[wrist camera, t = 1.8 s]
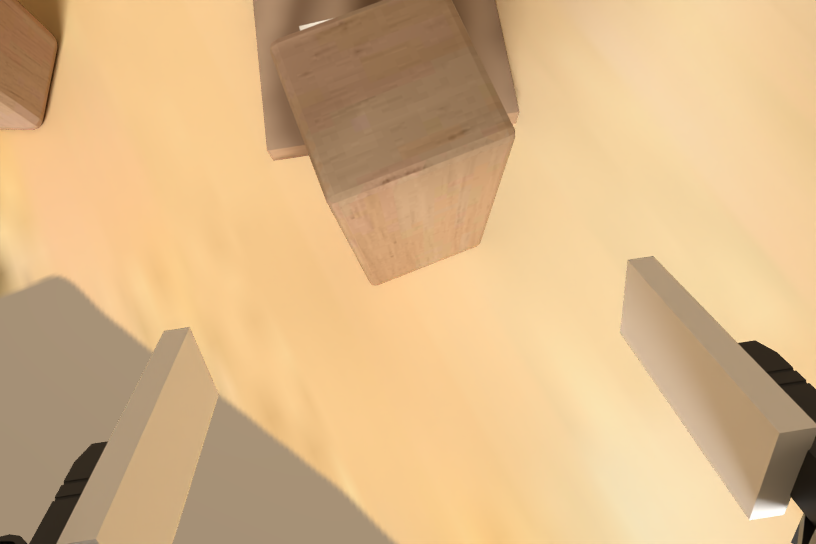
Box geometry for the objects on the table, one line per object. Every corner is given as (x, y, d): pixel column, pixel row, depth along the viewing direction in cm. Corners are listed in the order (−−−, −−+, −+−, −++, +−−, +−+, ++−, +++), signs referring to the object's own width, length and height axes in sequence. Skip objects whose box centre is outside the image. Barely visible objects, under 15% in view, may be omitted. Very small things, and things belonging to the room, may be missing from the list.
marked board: (480, -43, 52) (482, -60, 50) (515, 123, 48) (519, 111, 46) (257, -8, 52) (250, -24, 50) (273, 160, 48) (267, 150, 46)
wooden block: (332, 185, 47) (264, 38, 28) (437, 145, 48) (442, -27, 28) (372, 288, 45) (328, 207, 25) (481, 245, 45) (520, 133, 26)
